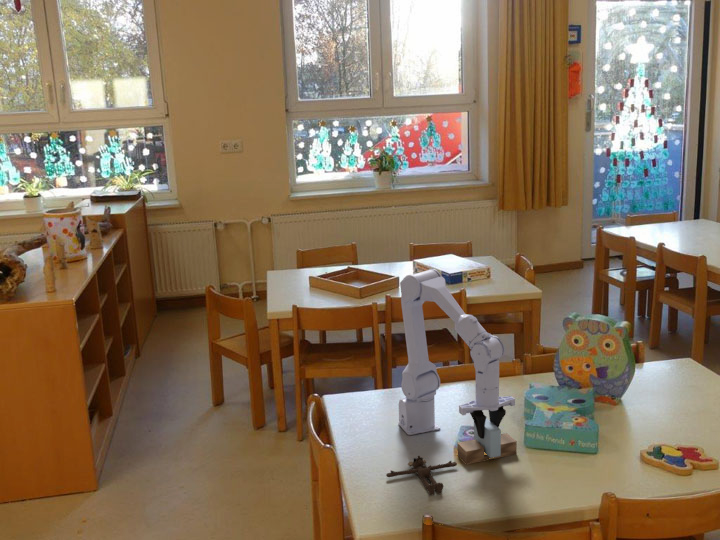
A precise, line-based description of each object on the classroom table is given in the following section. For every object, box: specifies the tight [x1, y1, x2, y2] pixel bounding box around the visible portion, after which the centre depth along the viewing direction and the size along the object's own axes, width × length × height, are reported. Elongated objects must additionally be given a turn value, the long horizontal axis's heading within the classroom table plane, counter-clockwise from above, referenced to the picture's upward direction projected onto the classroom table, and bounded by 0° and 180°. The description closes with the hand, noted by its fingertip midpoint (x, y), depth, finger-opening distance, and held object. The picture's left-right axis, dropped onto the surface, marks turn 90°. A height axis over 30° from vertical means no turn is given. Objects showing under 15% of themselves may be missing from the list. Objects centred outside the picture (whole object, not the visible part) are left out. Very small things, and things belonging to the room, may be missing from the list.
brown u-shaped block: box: [456, 432, 518, 465], centre depth 191 cm, size 14×5×4 cm, turn 108°
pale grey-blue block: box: [473, 417, 502, 458], centre depth 190 cm, size 3×9×7 cm, turn 18°
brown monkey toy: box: [385, 455, 458, 496], centre depth 180 cm, size 18×4×14 cm
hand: (487, 435), depth 190 cm, fingers closed on pale grey-blue block, 3 cm apart
